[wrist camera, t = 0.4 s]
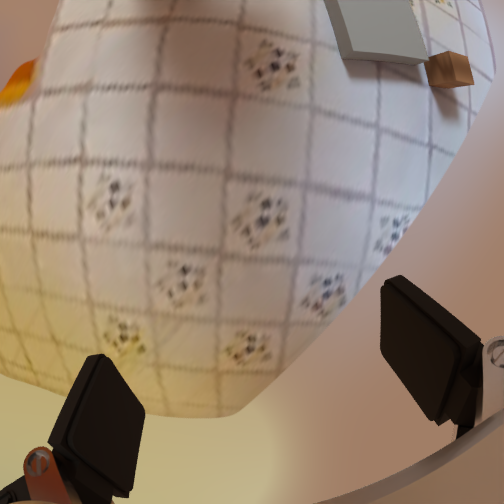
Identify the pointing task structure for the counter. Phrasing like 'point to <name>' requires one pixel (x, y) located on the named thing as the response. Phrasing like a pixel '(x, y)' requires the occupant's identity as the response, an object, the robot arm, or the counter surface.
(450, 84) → the walnut block
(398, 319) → the robot arm
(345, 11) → the pedestal
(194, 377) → the counter surface
